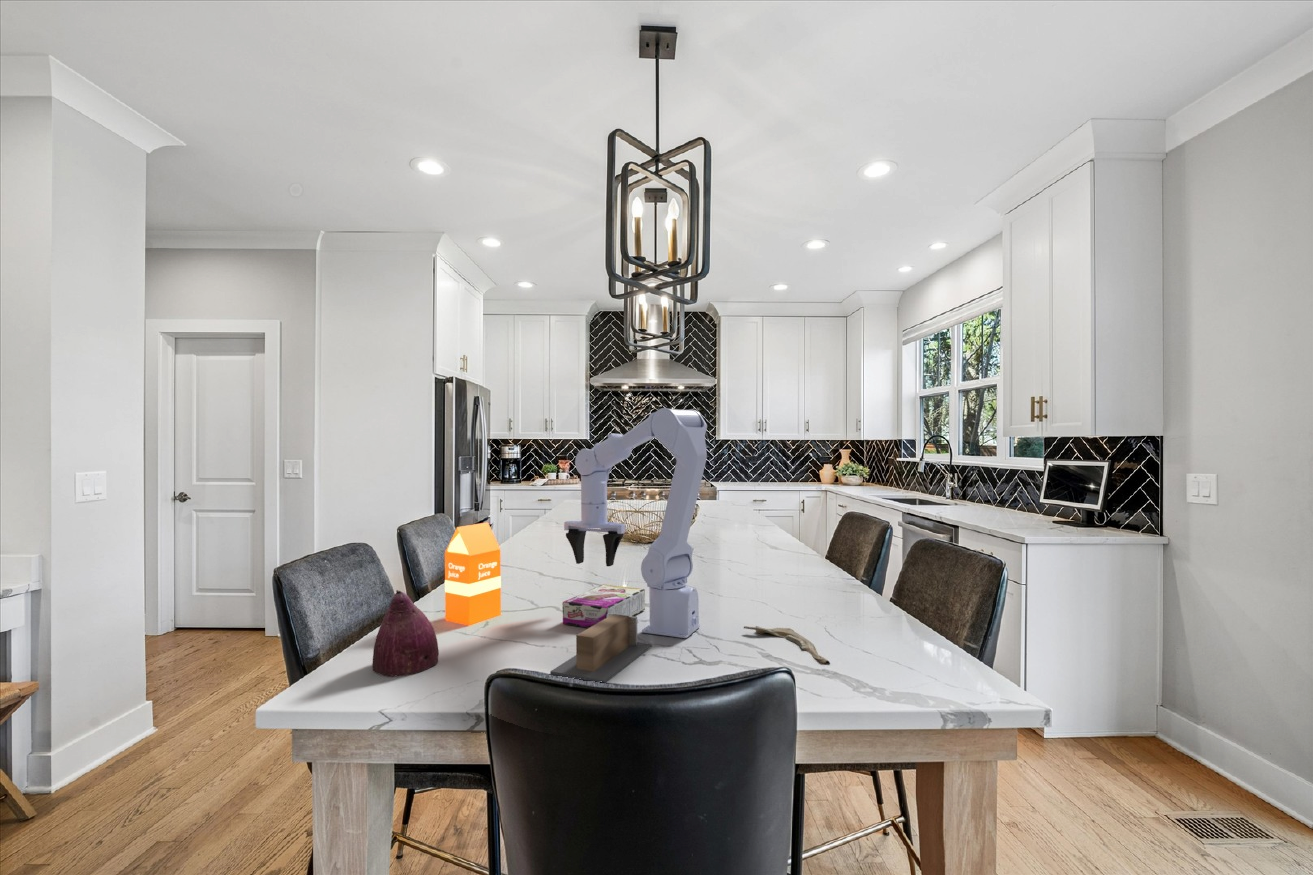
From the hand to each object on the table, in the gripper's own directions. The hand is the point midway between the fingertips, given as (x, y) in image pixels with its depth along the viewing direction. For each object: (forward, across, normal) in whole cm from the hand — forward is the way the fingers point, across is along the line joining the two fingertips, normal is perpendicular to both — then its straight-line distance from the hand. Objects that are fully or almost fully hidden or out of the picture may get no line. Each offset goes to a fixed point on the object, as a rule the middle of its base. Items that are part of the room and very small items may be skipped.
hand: (594, 564), depth 133 cm
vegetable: (+11, -14, -40) cm, 44 cm away
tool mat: (+10, +16, -25) cm, 31 cm away
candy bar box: (+8, +4, -12) cm, 15 cm away
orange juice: (+11, -22, -14) cm, 28 cm away
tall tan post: (+10, +16, -25) cm, 31 cm away
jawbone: (+11, +43, -7) cm, 45 cm away
